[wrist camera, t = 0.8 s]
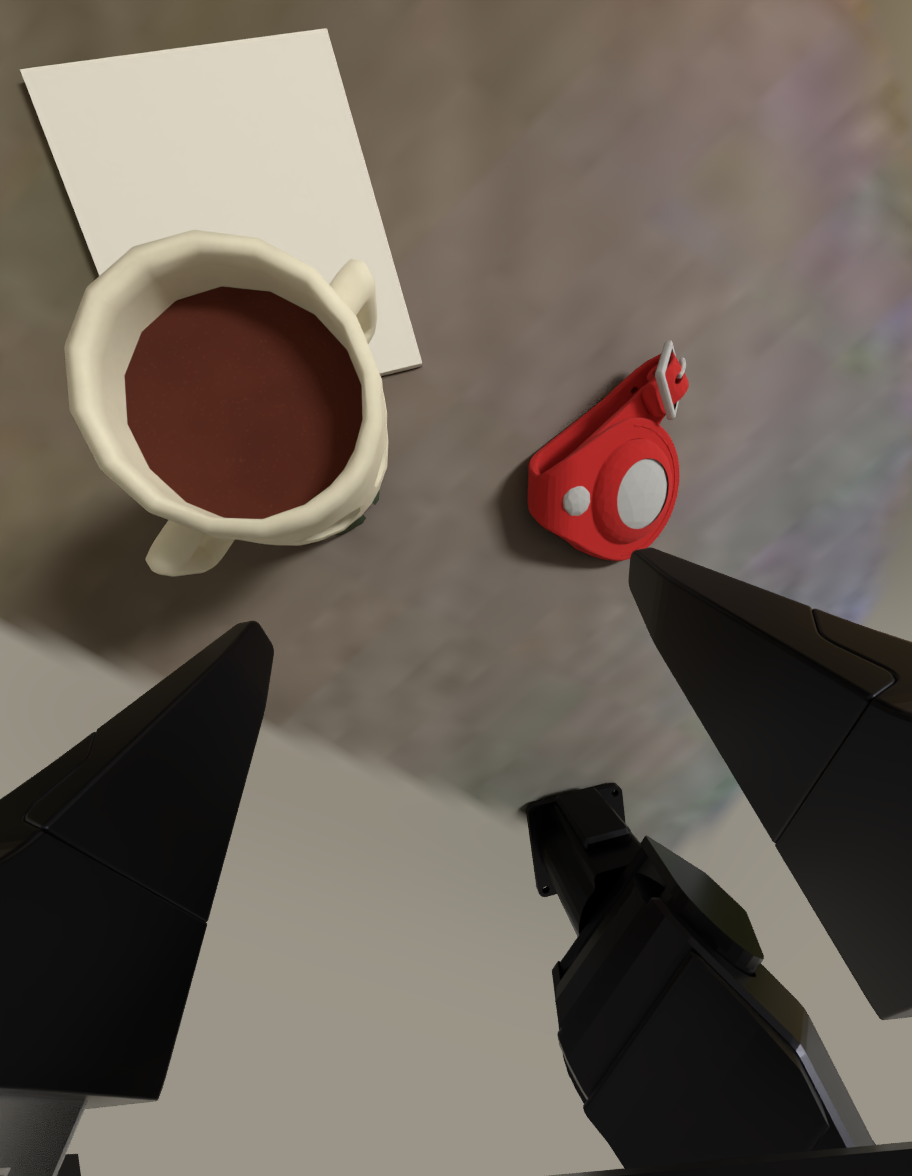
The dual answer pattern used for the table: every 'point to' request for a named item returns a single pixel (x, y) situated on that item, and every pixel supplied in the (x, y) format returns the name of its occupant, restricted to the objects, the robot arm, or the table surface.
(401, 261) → the table surface
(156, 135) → the oatmeal mat
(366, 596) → the table surface
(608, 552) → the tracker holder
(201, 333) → the character mug
